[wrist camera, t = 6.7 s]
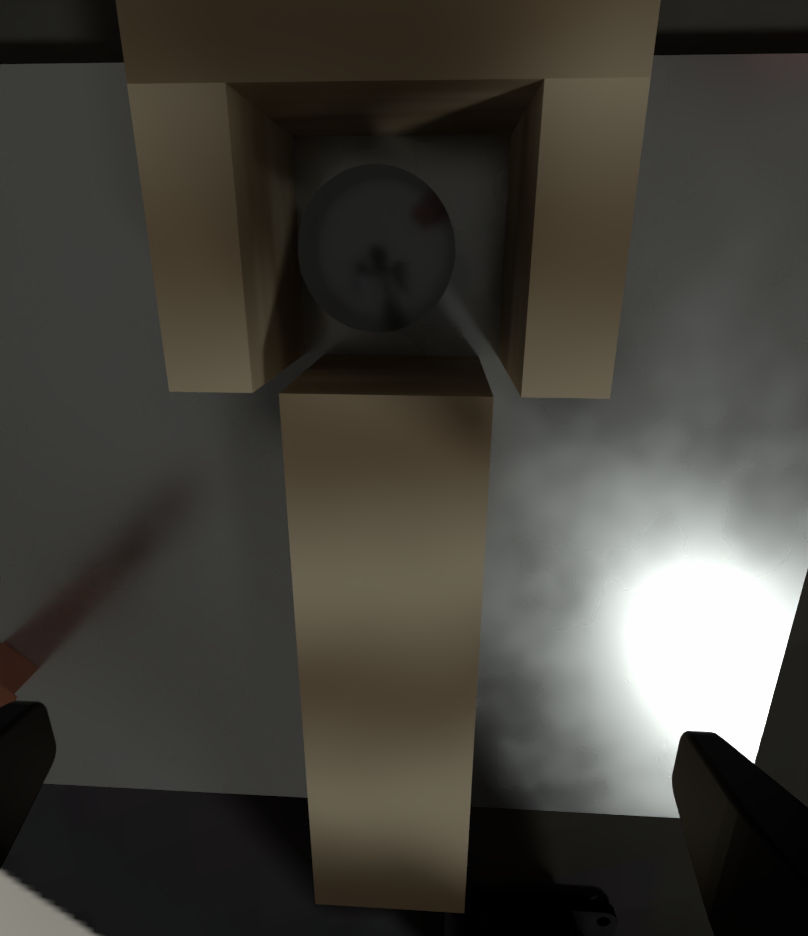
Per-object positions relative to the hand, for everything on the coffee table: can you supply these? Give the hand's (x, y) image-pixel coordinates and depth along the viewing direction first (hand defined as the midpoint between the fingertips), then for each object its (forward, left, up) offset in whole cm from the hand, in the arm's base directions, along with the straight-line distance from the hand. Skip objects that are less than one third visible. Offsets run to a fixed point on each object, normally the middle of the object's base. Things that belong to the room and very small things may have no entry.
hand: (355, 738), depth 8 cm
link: (0, 0, -9) cm, 9 cm away
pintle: (+6, 0, -10) cm, 12 cm away
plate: (-1, +1, -10) cm, 10 cm away
